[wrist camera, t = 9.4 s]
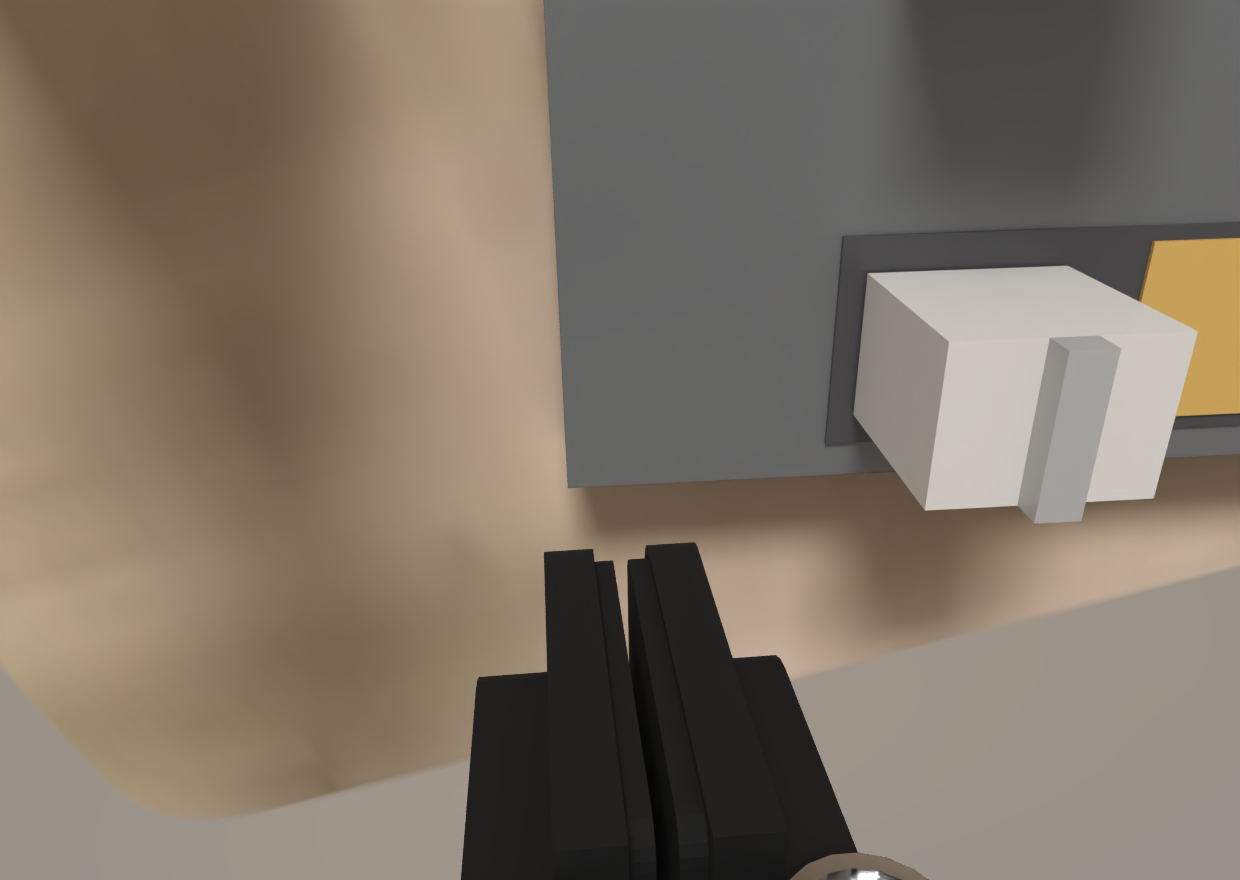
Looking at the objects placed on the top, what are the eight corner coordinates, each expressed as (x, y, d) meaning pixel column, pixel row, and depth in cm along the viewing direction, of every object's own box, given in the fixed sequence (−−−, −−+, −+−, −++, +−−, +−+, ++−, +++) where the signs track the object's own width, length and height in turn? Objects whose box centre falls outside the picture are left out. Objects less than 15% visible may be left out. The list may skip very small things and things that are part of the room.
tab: (1067, 265, 18) (1223, 343, 14) (1039, 405, 19) (1175, 516, 15) (867, 272, 18) (965, 355, 14) (853, 414, 19) (938, 529, 15)
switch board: (1746, -369, 17) (1951, -433, 14) (1440, 396, 23) (1545, 442, 21) (526, -373, 15) (521, -443, 13) (565, 437, 22) (568, 492, 19)
